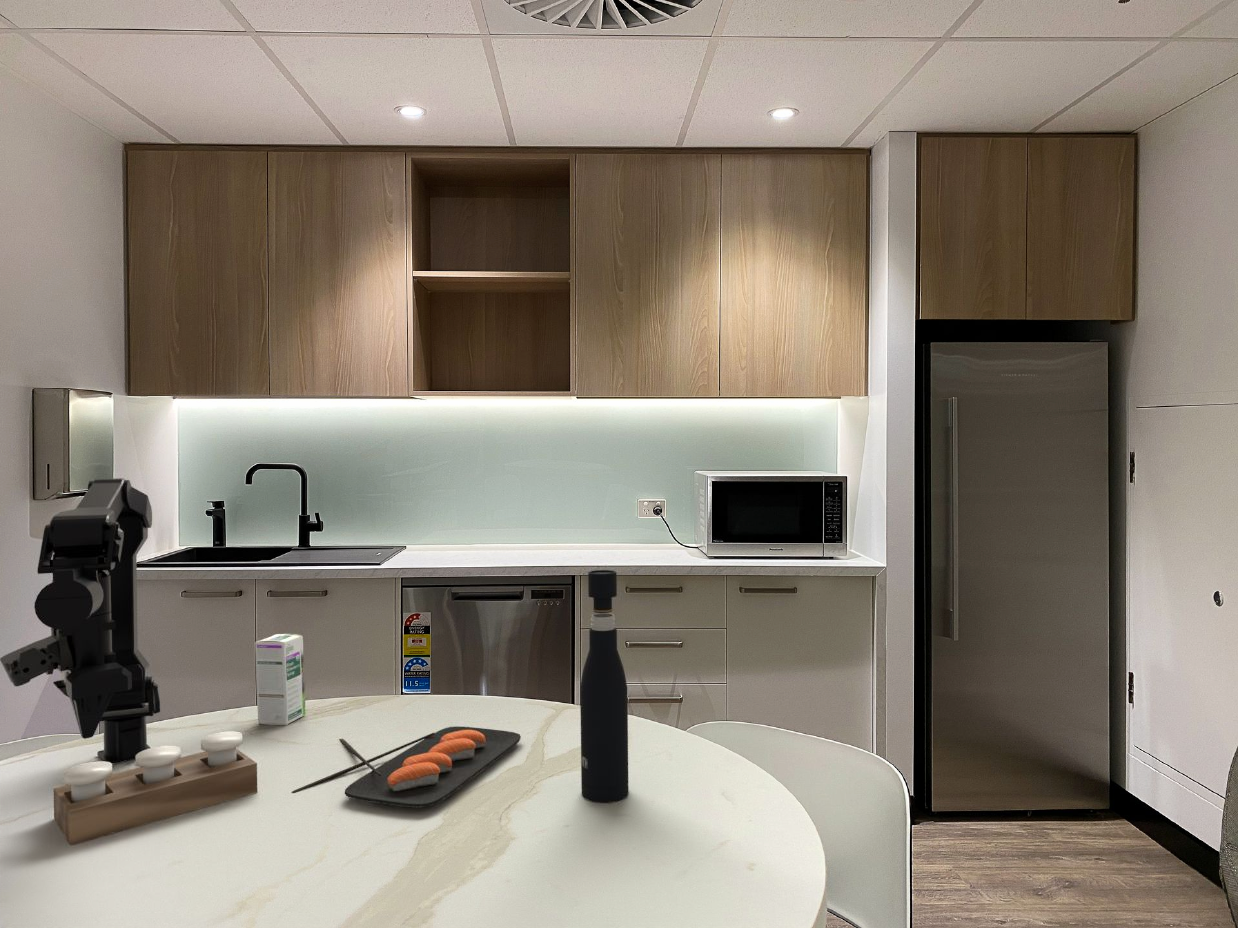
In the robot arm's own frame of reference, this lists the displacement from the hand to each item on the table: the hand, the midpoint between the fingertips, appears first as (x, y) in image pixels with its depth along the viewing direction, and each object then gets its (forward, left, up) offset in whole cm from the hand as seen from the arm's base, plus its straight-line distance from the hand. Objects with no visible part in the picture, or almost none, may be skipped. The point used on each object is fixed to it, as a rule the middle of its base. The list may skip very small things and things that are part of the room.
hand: (87, 737), depth 105 cm
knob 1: (0, 0, -9) cm, 9 cm away
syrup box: (-24, +33, -11) cm, 43 cm away
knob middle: (0, +8, -8) cm, 12 cm away
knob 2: (0, +16, -8) cm, 18 cm away
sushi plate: (+9, +37, -12) cm, 40 cm away
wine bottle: (+39, +52, -11) cm, 66 cm away
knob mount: (0, +8, -11) cm, 14 cm away
